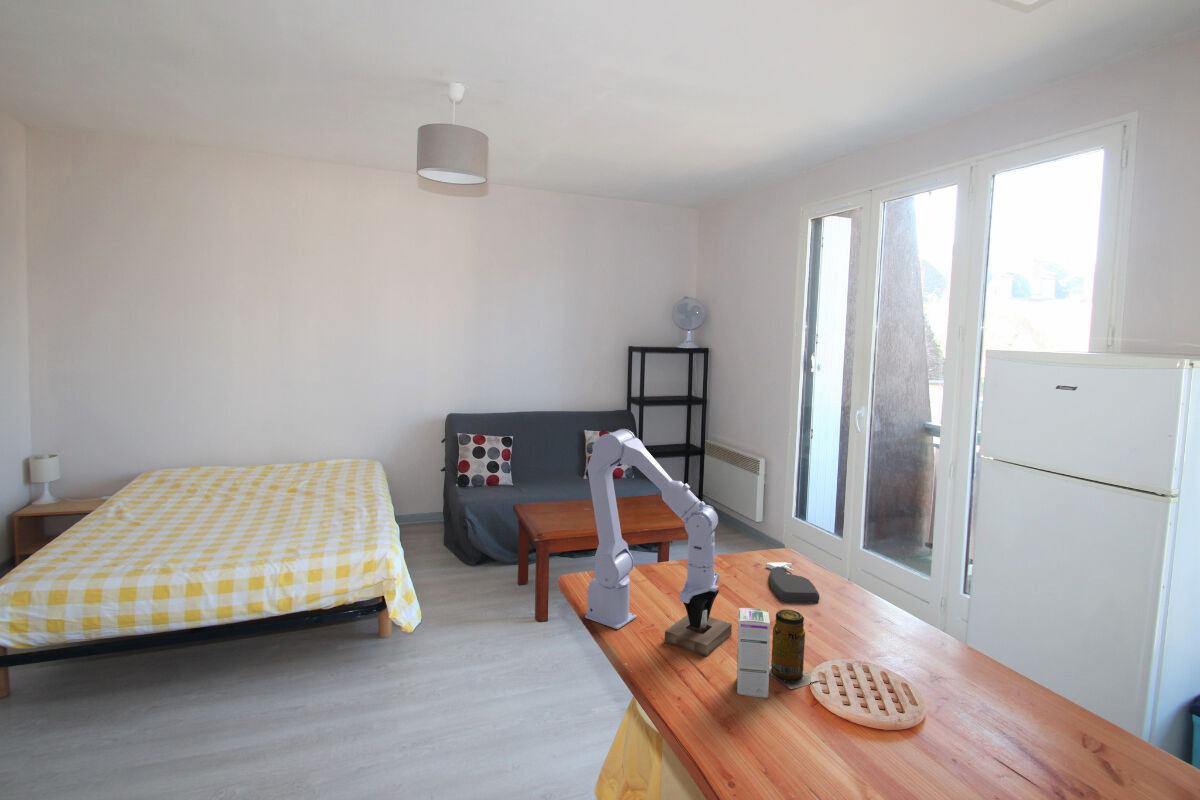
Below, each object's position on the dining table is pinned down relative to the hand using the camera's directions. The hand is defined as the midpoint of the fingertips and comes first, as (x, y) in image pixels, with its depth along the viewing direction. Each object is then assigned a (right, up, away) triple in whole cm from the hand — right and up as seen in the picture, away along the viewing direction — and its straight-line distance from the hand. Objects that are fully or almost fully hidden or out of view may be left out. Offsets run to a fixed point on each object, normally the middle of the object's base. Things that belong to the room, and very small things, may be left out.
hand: (698, 623), depth 135 cm
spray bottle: (+29, -1, +31) cm, 42 cm away
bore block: (0, -3, 0) cm, 3 cm away
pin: (0, -3, 0) cm, 3 cm away
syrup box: (+7, -6, -18) cm, 21 cm away
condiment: (+16, -5, -14) cm, 21 cm away
